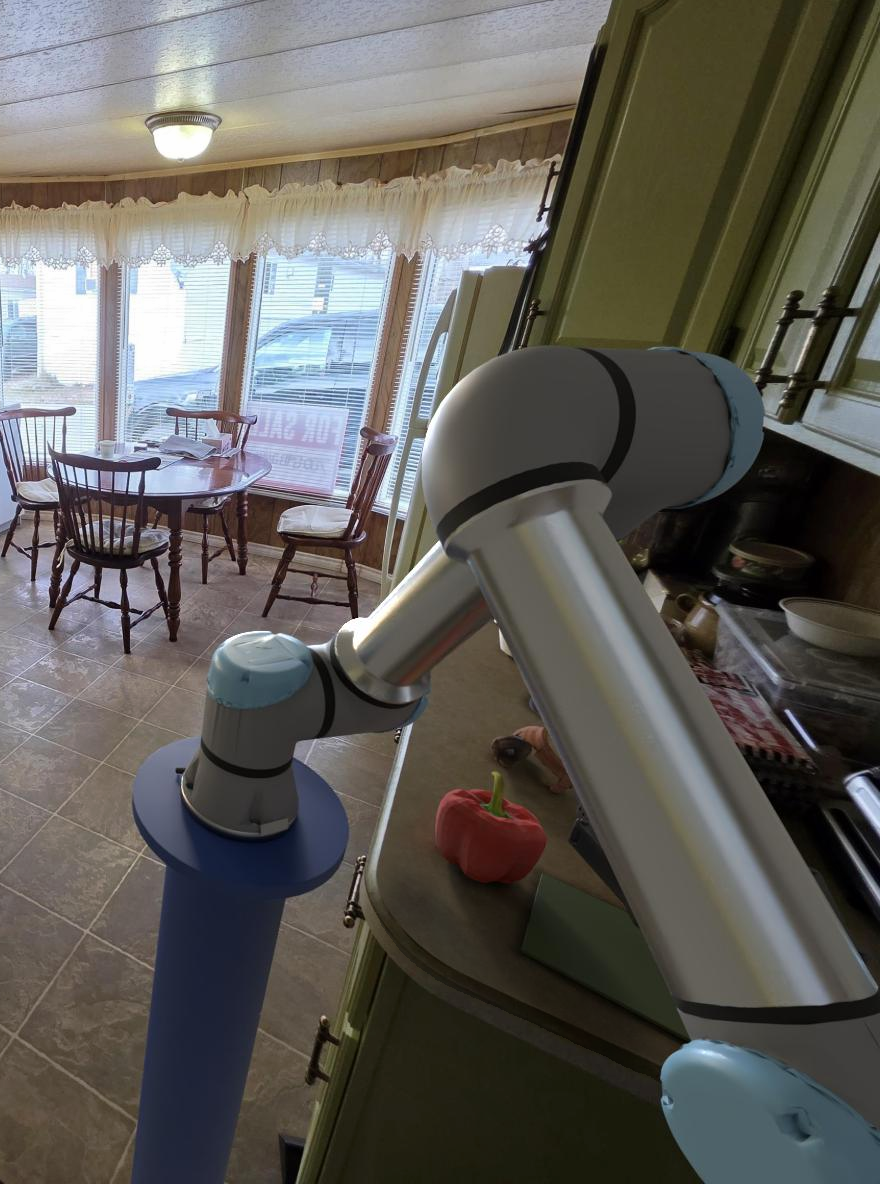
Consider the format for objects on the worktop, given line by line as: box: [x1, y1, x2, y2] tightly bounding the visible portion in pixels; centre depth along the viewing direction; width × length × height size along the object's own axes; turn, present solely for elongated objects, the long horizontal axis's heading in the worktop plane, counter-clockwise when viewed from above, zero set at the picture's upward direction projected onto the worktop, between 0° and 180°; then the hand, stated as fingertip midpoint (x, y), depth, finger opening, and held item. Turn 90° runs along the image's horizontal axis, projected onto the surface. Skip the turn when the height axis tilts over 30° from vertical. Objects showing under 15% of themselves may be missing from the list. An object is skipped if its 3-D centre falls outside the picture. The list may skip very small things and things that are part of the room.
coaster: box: [520, 872, 691, 1044], centre depth 65 cm, size 13×13×1 cm
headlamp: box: [490, 725, 574, 794], centre depth 89 cm, size 12×10×8 cm
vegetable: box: [435, 771, 548, 884], centre depth 73 cm, size 11×10×10 cm
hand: (645, 797), depth 63 cm, fingers closed on cup, 10 cm apart
